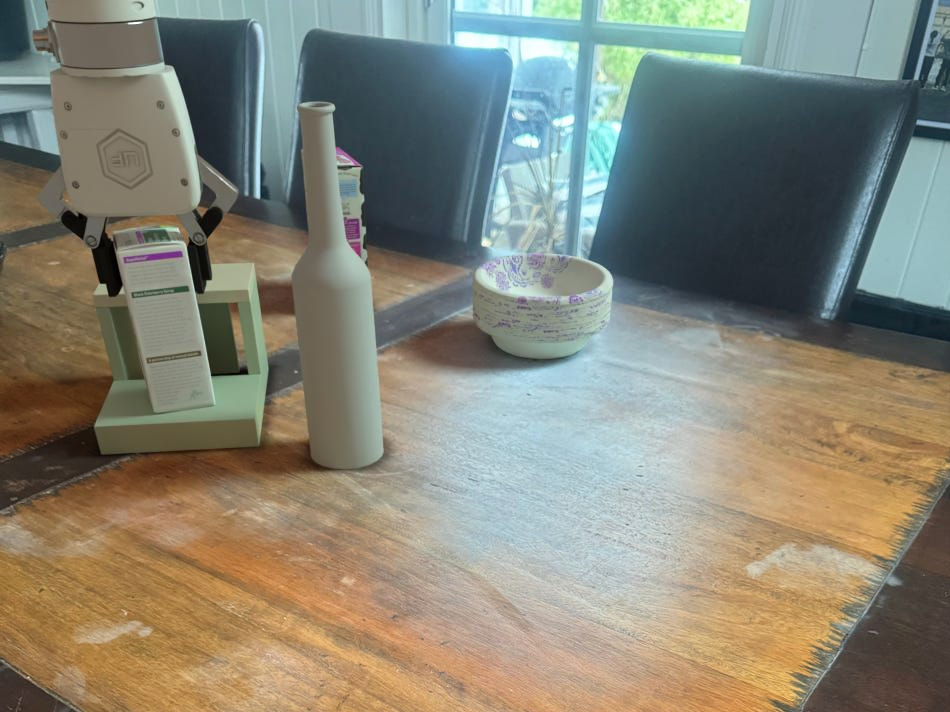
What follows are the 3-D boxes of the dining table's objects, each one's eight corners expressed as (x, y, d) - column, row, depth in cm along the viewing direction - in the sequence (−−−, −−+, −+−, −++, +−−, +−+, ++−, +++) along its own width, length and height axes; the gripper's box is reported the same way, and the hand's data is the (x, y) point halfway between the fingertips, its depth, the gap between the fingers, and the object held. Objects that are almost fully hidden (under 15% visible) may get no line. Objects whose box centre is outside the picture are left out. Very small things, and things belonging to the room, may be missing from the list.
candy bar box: (373, 313, 114) (364, 164, 104) (333, 318, 113) (319, 168, 102) (350, 284, 122) (339, 144, 112) (312, 289, 121) (297, 147, 111)
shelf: (101, 457, 85) (68, 335, 78) (133, 376, 99) (108, 267, 92) (259, 448, 86) (240, 328, 79) (269, 370, 100) (253, 262, 93)
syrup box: (217, 406, 86) (190, 240, 77) (151, 415, 85) (115, 247, 76) (207, 382, 91) (180, 222, 82) (144, 390, 89) (109, 228, 80)
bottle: (372, 433, 89) (347, 94, 72) (392, 464, 84) (371, 109, 67) (303, 444, 87) (261, 99, 70) (320, 477, 82) (279, 115, 65)
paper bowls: (534, 383, 98) (538, 307, 93) (445, 340, 107) (444, 269, 102) (635, 348, 106) (643, 276, 101) (544, 311, 115) (547, 243, 110)
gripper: (-27, 55, 67) (45, 309, 78) (223, 53, 68) (258, 301, 79) (1, 42, 72) (64, 280, 84) (231, 40, 74) (262, 273, 85)
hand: (158, 288), depth 81 cm, fingers closed on syrup box, 6 cm apart
